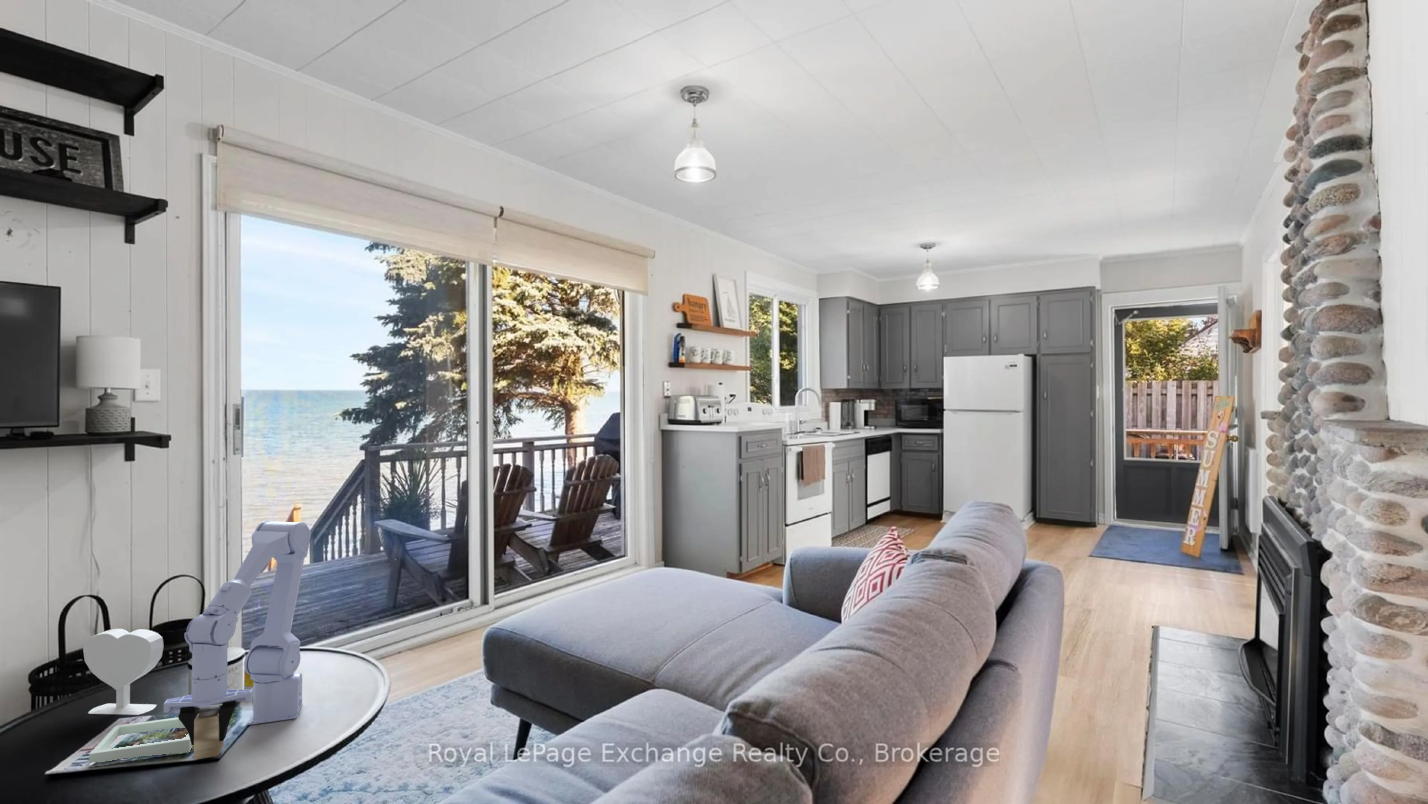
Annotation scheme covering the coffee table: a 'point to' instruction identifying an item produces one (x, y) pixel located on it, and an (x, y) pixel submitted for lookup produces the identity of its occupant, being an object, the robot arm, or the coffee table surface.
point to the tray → (149, 749)
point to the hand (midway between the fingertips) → (208, 740)
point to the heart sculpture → (122, 664)
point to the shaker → (207, 733)
